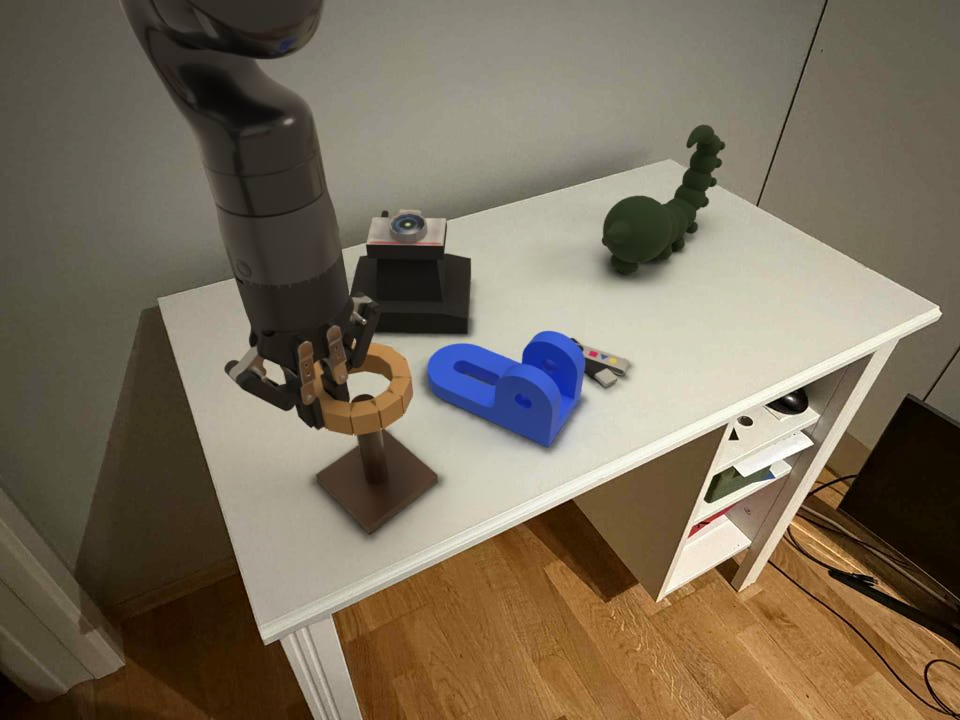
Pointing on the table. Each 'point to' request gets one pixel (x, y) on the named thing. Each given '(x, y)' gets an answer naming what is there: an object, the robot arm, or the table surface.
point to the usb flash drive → (602, 364)
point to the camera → (414, 275)
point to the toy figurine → (663, 210)
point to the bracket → (513, 384)
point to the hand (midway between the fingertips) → (326, 415)
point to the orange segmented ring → (377, 410)
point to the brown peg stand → (376, 478)
